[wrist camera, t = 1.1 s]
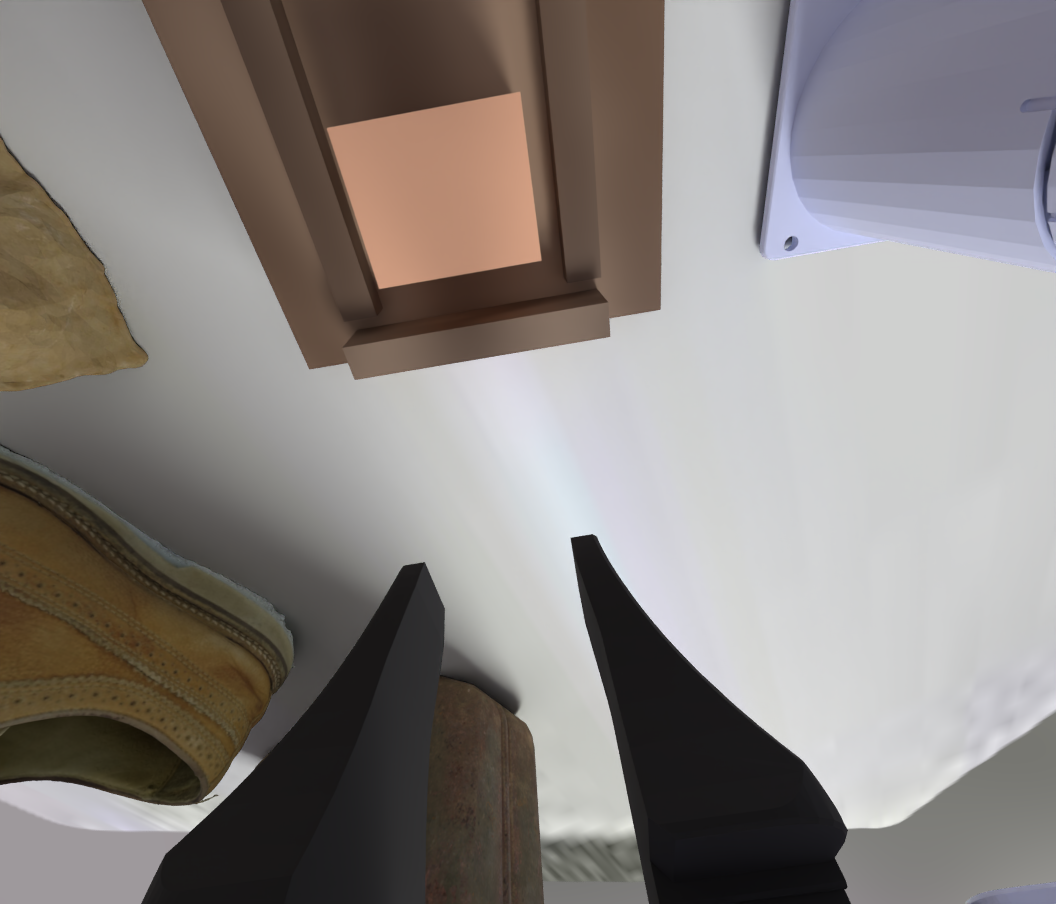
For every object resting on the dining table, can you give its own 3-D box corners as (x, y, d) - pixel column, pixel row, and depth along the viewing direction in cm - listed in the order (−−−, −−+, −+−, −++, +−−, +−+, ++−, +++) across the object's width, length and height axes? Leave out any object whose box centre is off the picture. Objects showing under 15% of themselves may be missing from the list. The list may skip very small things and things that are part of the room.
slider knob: (516, 103, 13) (520, 91, 11) (535, 247, 15) (541, 260, 13) (353, 133, 13) (326, 128, 11) (395, 272, 16) (379, 289, 13)
